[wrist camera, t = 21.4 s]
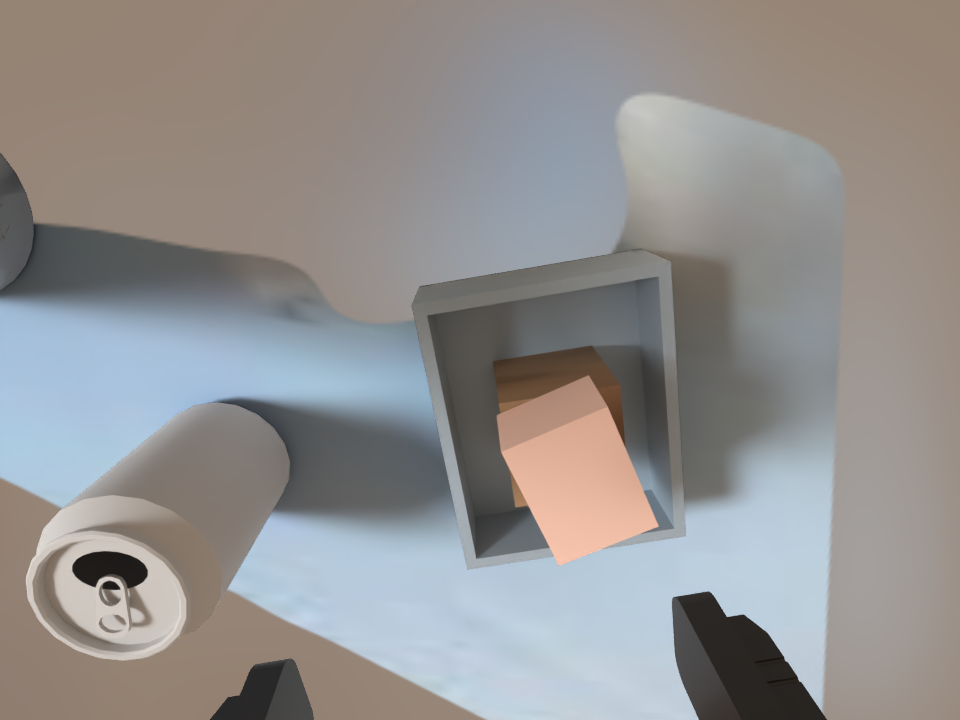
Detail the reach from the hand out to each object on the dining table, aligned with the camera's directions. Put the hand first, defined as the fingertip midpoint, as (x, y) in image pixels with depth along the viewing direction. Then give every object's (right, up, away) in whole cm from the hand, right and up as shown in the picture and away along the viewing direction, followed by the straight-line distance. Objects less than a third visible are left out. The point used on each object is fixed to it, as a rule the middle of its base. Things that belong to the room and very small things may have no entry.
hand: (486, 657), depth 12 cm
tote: (+4, +4, +20) cm, 21 cm away
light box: (+4, +2, +14) cm, 15 cm away
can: (-15, +1, +21) cm, 26 cm away
